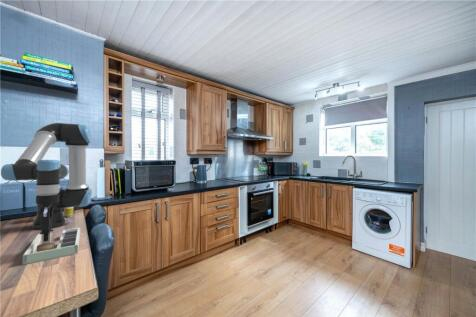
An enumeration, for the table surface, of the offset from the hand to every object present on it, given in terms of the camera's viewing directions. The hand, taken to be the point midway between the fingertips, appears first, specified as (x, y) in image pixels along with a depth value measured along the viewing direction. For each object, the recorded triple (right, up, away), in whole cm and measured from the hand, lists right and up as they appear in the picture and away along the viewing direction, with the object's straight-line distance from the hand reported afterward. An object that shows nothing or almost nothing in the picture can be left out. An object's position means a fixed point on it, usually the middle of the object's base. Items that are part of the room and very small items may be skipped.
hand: (46, 247), depth 88 cm
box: (0, -2, +5) cm, 6 cm away
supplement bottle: (-39, -4, +57) cm, 70 cm away
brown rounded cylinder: (+2, -2, -3) cm, 4 cm away
